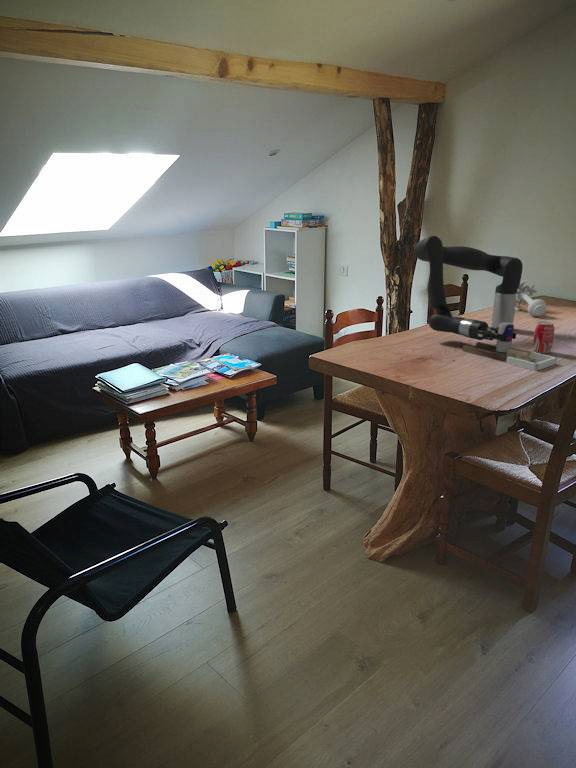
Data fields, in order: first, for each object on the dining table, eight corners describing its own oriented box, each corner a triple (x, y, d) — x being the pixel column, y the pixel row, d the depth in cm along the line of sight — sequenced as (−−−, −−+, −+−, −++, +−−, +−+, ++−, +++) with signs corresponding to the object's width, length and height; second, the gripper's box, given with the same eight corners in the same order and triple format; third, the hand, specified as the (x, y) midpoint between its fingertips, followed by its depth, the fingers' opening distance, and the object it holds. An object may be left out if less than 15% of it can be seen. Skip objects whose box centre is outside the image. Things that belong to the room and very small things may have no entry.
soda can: (534, 349, 230) (538, 320, 226) (552, 351, 227) (557, 322, 223) (529, 352, 225) (534, 323, 221) (548, 355, 221) (553, 325, 217)
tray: (526, 356, 219) (527, 350, 219) (556, 364, 210) (557, 357, 210) (505, 363, 211) (506, 356, 210) (536, 370, 202) (537, 364, 201)
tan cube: (511, 357, 219) (512, 347, 217) (520, 359, 216) (522, 349, 215) (505, 359, 216) (507, 349, 215) (515, 361, 213) (516, 351, 212)
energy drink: (509, 356, 216) (514, 325, 212) (495, 354, 218) (499, 324, 214) (509, 352, 221) (514, 322, 217) (495, 351, 222) (499, 321, 218)
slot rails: (478, 346, 234) (479, 341, 233) (520, 356, 220) (521, 351, 219) (462, 350, 227) (462, 346, 227) (504, 361, 213) (505, 356, 213)
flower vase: (541, 329, 291) (520, 308, 312) (558, 297, 281) (535, 277, 302) (519, 326, 288) (499, 304, 309) (535, 293, 279) (513, 273, 299)
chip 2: (520, 359, 216) (522, 349, 215) (530, 361, 213) (532, 351, 212) (515, 361, 213) (516, 351, 212) (525, 363, 211) (526, 353, 209)
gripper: (463, 322, 222) (501, 330, 210) (485, 317, 230) (523, 325, 218) (461, 340, 225) (499, 350, 212) (482, 335, 233) (520, 344, 220)
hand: (511, 337), depth 215 cm, fingers closed on energy drink, 5 cm apart
